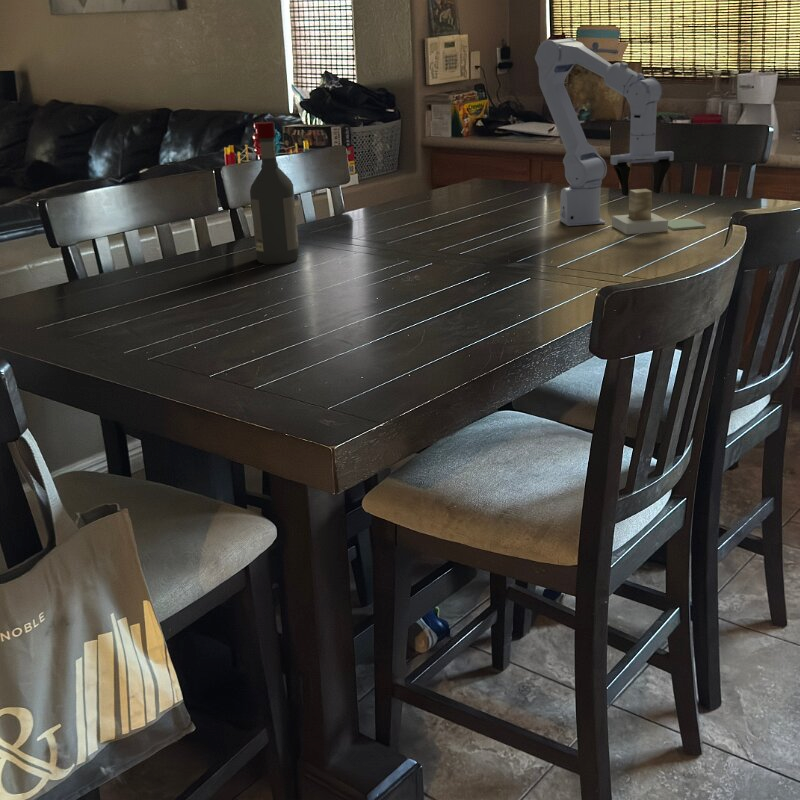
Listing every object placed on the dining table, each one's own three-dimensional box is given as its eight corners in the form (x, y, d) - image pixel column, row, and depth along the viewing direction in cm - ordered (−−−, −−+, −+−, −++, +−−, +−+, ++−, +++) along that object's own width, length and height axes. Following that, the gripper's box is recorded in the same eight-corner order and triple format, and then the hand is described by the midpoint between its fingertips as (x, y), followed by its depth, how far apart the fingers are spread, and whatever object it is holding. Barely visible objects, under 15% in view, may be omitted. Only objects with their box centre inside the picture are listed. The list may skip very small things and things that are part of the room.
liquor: (299, 253, 228) (288, 119, 217) (297, 262, 220) (285, 123, 209) (260, 256, 228) (246, 121, 217) (256, 265, 220) (241, 126, 209)
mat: (672, 230, 232) (673, 228, 231) (658, 223, 240) (658, 220, 240) (705, 227, 232) (705, 225, 232) (690, 220, 241) (690, 218, 241)
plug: (634, 231, 233) (635, 192, 230) (628, 227, 237) (629, 189, 233) (650, 229, 233) (652, 191, 230) (644, 226, 237) (645, 188, 234)
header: (626, 234, 230) (626, 223, 229) (611, 226, 239) (612, 215, 238) (667, 231, 231) (668, 220, 230) (651, 223, 240) (652, 212, 239)
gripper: (618, 138, 223) (616, 198, 227) (680, 133, 224) (677, 194, 229) (607, 135, 229) (606, 194, 234) (668, 130, 231) (665, 189, 236)
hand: (640, 193), depth 232 cm, fingers open, 7 cm apart
